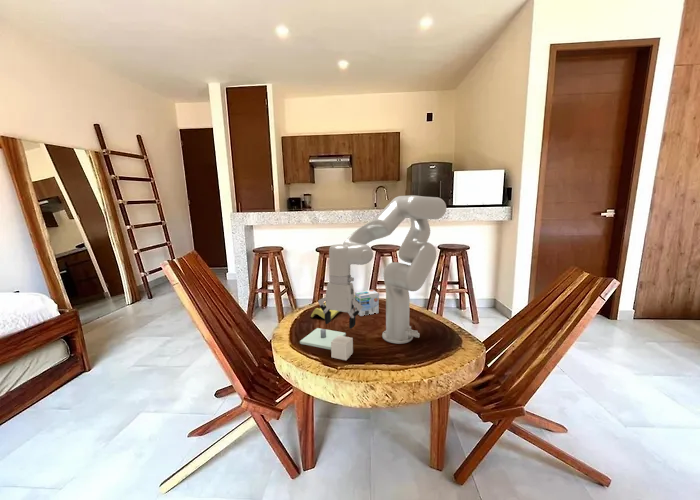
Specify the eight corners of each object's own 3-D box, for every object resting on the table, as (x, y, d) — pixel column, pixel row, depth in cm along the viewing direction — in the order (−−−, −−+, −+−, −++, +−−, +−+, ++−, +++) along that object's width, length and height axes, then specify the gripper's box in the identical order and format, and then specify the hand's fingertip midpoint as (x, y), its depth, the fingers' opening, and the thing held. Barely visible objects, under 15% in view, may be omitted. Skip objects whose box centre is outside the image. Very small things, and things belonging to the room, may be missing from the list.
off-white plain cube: (352, 352, 115) (352, 337, 114) (346, 360, 110) (345, 344, 109) (338, 349, 117) (338, 335, 116) (331, 357, 112) (331, 342, 111)
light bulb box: (360, 316, 151) (360, 295, 149) (354, 312, 157) (354, 292, 155) (379, 313, 155) (379, 292, 153) (373, 308, 161) (373, 289, 159)
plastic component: (330, 317, 145) (313, 306, 147) (325, 328, 148) (309, 318, 150) (347, 301, 163) (331, 291, 165) (342, 312, 165) (327, 302, 168)
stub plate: (345, 335, 130) (345, 326, 130) (330, 349, 118) (330, 340, 117) (317, 330, 136) (317, 321, 135) (299, 343, 123) (299, 334, 123)
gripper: (366, 279, 109) (365, 325, 111) (323, 274, 116) (323, 318, 118) (358, 284, 102) (357, 333, 104) (313, 279, 109) (314, 324, 111)
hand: (339, 325), depth 111 cm, fingers open, 9 cm apart
